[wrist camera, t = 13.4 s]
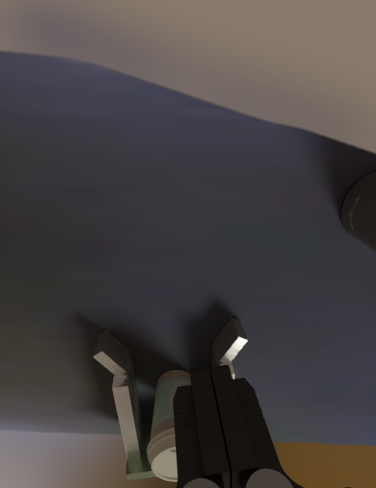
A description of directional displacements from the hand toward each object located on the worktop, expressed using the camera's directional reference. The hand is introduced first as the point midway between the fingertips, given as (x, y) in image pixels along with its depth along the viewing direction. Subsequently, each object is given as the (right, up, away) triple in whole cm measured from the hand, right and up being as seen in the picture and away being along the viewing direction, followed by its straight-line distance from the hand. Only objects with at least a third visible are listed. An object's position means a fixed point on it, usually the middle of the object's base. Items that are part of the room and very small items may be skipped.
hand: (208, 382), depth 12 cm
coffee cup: (-3, -17, +36) cm, 40 cm away
